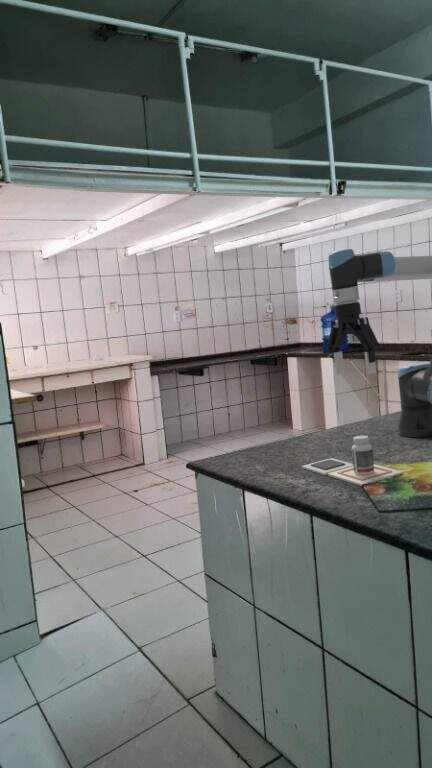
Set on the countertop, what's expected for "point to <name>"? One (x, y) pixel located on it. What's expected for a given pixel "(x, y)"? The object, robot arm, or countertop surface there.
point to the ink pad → (327, 466)
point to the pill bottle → (362, 456)
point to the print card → (359, 480)
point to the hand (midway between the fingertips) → (355, 373)
